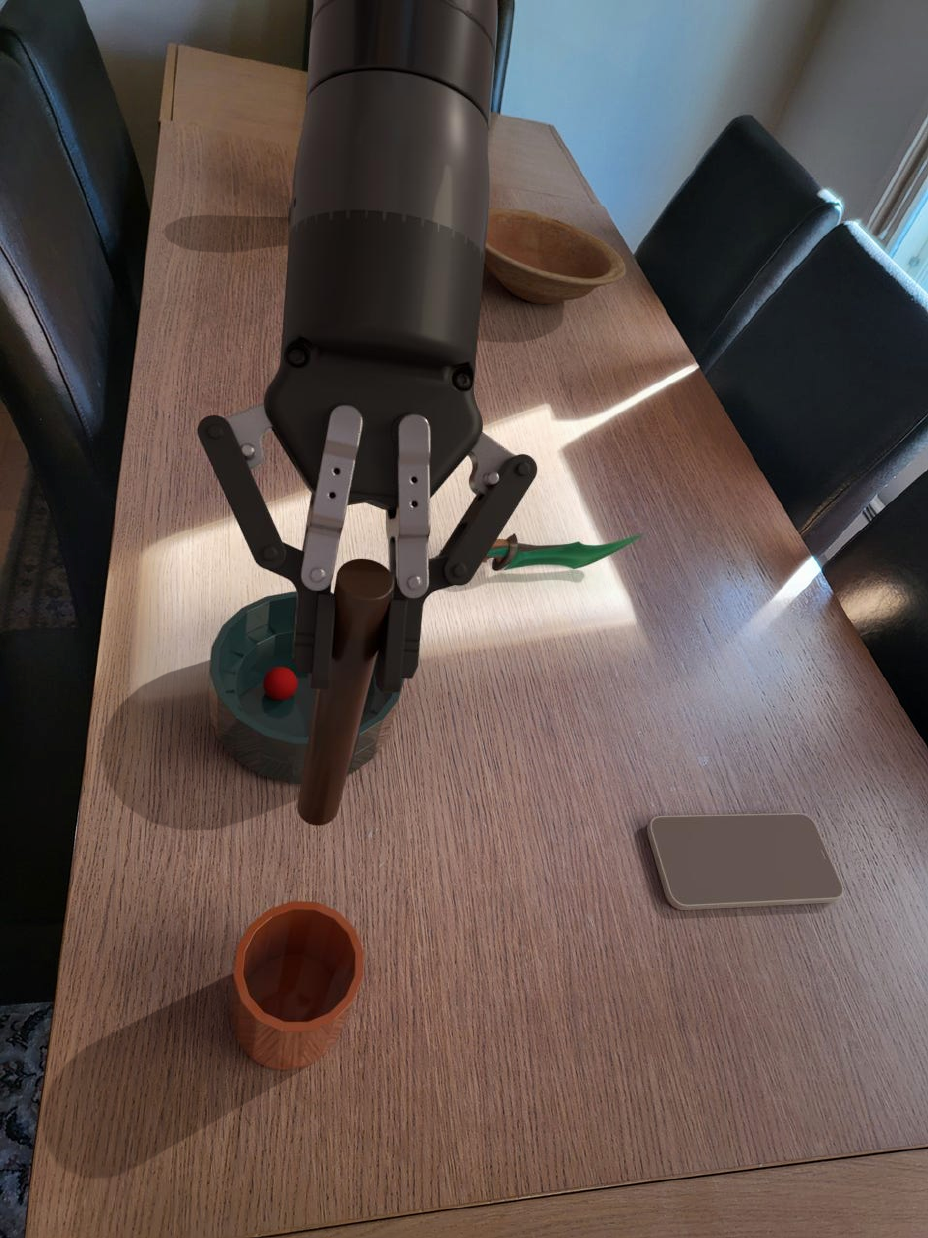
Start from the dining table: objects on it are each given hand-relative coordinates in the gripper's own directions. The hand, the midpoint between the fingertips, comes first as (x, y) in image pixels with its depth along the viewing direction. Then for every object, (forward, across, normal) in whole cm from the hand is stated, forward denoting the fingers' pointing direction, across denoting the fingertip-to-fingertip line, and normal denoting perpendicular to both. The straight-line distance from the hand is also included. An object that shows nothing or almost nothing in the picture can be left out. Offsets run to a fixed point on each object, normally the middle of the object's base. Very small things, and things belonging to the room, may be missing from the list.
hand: (353, 686), depth 33 cm
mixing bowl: (+7, 0, +34) cm, 34 cm away
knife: (-5, +23, +46) cm, 52 cm away
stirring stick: (+8, 0, +11) cm, 14 cm away
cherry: (+5, -2, +33) cm, 33 cm away
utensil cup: (+23, 0, +18) cm, 29 cm away
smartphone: (+16, +35, +24) cm, 45 cm away
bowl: (-47, +32, +87) cm, 104 cm away
